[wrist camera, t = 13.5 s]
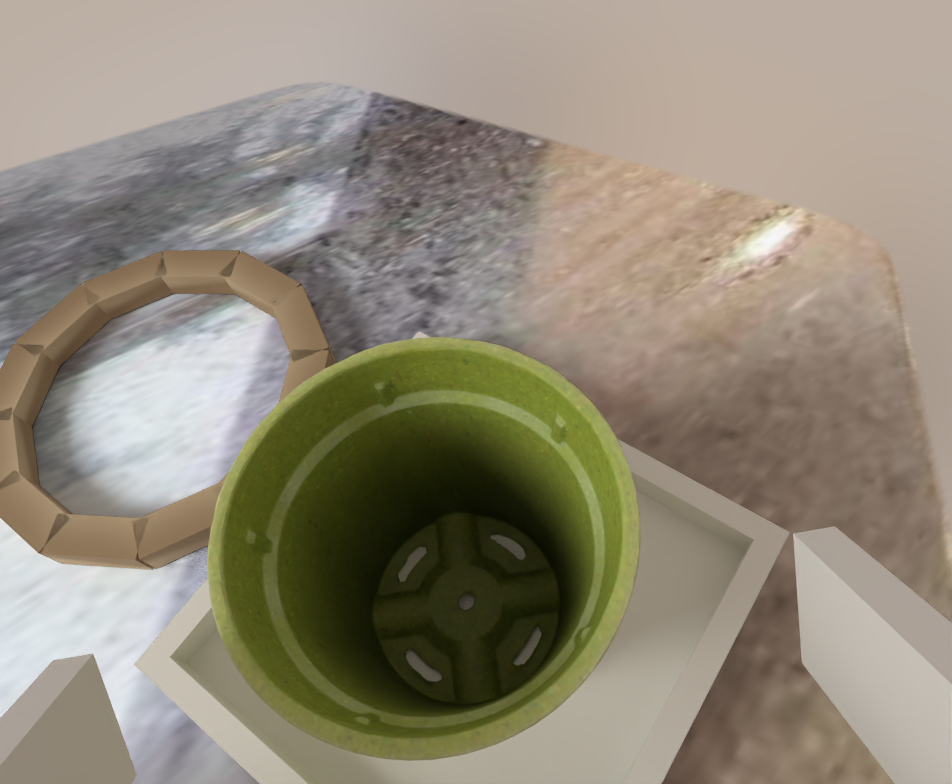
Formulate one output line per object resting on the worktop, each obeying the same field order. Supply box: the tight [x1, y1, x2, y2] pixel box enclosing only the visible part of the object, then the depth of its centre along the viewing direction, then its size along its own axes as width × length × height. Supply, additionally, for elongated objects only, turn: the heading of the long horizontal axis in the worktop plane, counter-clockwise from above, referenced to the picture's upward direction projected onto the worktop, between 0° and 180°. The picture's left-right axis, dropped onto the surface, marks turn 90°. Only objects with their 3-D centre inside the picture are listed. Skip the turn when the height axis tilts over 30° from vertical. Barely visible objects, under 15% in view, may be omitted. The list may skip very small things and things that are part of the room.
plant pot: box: [207, 337, 641, 761], centre depth 19 cm, size 9×9×9 cm
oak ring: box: [0, 250, 337, 570], centre depth 28 cm, size 14×14×1 cm
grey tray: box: [134, 332, 790, 784], centre depth 22 cm, size 15×15×2 cm
